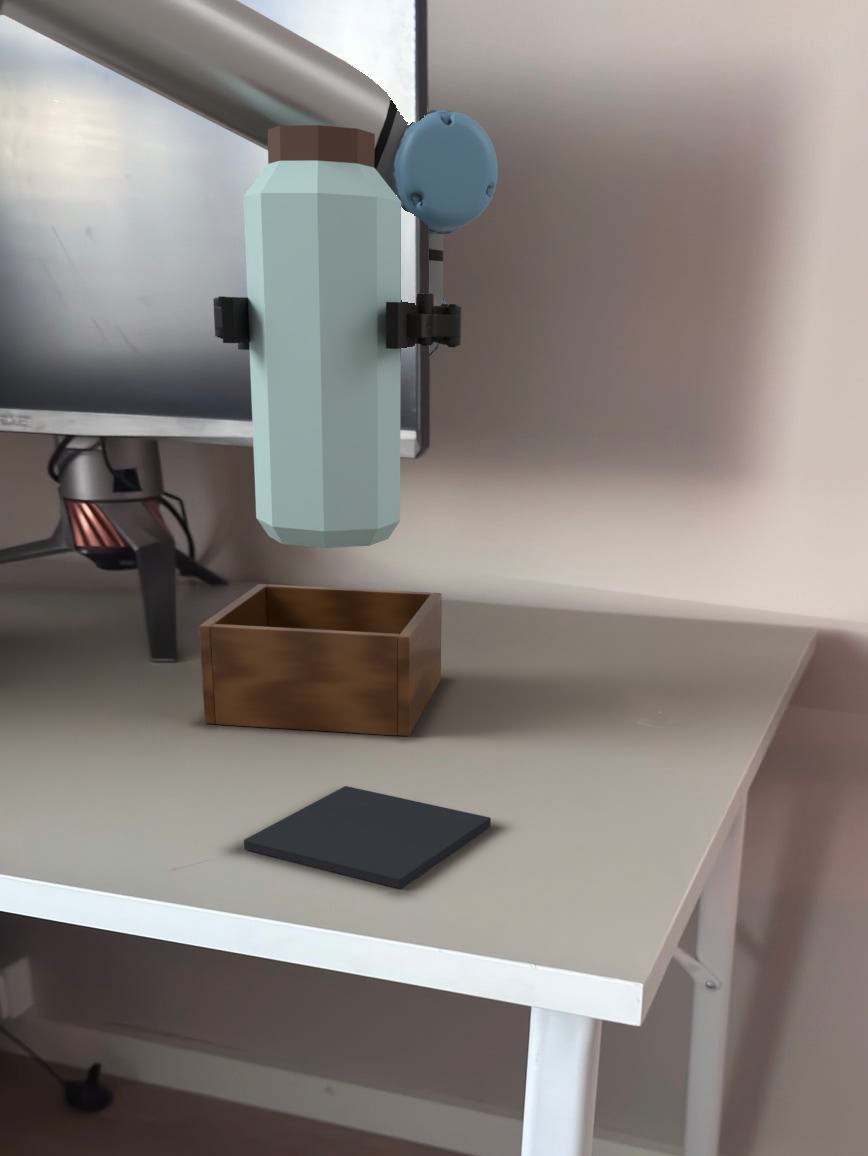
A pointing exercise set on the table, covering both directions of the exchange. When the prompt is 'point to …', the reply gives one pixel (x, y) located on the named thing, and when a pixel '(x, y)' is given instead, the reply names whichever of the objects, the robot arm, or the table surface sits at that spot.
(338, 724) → the wooden box
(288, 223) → the water bottle
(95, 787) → the table surface
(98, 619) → the table surface
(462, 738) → the table surface
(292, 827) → the mat
